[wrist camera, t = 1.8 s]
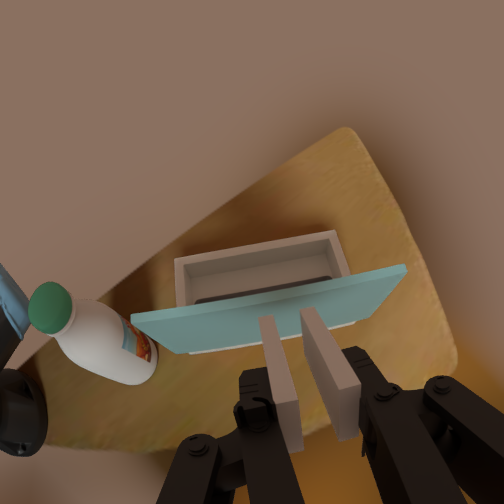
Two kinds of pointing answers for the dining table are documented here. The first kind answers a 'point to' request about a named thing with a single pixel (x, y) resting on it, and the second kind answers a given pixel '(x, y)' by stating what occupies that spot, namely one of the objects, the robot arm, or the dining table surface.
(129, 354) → the milk bottle
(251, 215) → the dining table surface
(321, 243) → the white shallow box
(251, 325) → the cover
